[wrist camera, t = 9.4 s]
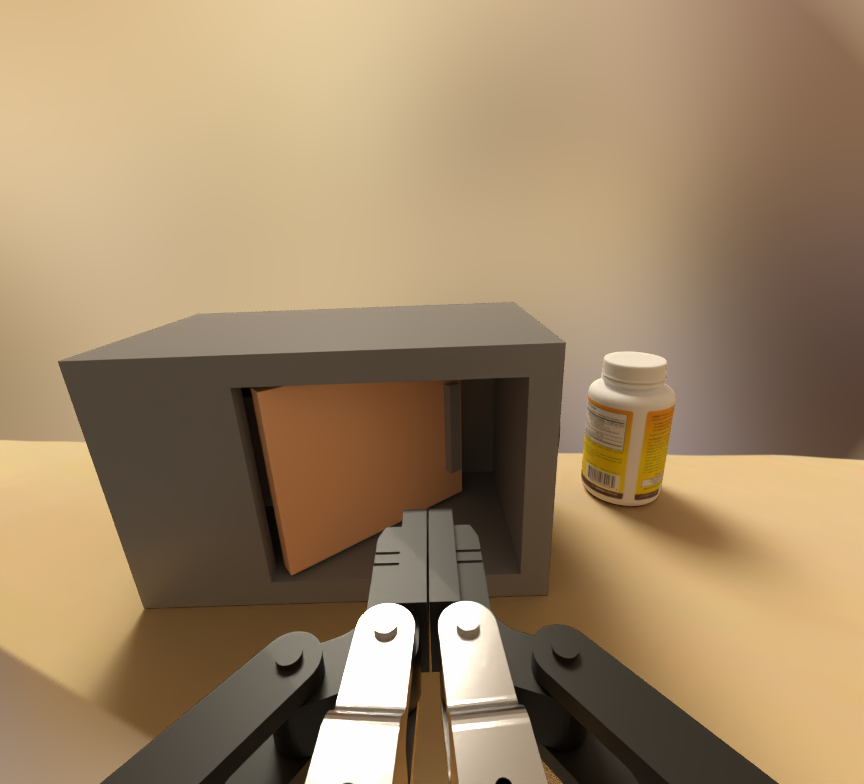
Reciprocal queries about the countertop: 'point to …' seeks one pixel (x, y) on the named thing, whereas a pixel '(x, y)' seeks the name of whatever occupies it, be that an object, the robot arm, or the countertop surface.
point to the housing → (243, 456)
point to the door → (355, 459)
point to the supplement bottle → (628, 429)
